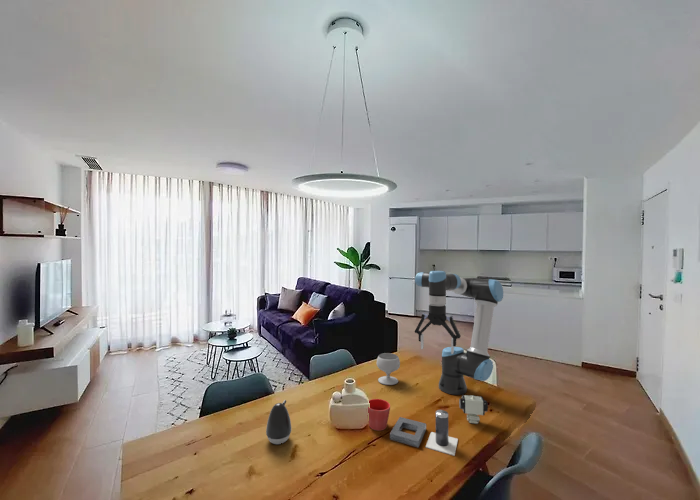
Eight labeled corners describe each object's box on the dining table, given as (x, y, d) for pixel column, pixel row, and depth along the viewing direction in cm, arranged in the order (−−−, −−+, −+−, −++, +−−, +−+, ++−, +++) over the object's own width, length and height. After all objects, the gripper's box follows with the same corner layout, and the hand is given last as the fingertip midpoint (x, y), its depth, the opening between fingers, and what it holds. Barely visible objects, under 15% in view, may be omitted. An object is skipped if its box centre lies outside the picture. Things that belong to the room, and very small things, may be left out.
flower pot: (376, 416, 145) (376, 396, 145) (394, 426, 137) (395, 404, 137) (360, 425, 137) (361, 403, 137) (379, 436, 129) (379, 413, 129)
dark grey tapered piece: (296, 435, 130) (296, 399, 130) (283, 450, 120) (283, 412, 120) (275, 430, 133) (275, 395, 133) (260, 445, 123) (261, 407, 123)
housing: (399, 422, 140) (399, 416, 140) (426, 429, 134) (426, 423, 134) (389, 439, 127) (389, 433, 127) (418, 447, 122) (418, 441, 122)
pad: (431, 432, 132) (431, 431, 132) (457, 439, 127) (457, 438, 127) (425, 447, 122) (425, 446, 122) (454, 455, 117) (454, 454, 117)
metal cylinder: (436, 437, 128) (436, 408, 128) (449, 440, 126) (449, 411, 126) (434, 444, 123) (434, 414, 124) (447, 447, 121) (447, 417, 121)
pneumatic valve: (487, 426, 137) (488, 399, 137) (460, 423, 139) (460, 396, 139) (485, 419, 142) (485, 393, 142) (458, 416, 145) (458, 391, 145)
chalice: (377, 375, 191) (377, 351, 191) (399, 377, 189) (399, 352, 189) (375, 385, 177) (376, 359, 177) (400, 387, 175) (400, 361, 175)
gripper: (408, 303, 142) (408, 349, 142) (465, 308, 131) (465, 357, 131) (412, 301, 149) (412, 344, 149) (467, 305, 138) (466, 352, 138)
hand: (436, 350), depth 140 cm, fingers open, 13 cm apart
